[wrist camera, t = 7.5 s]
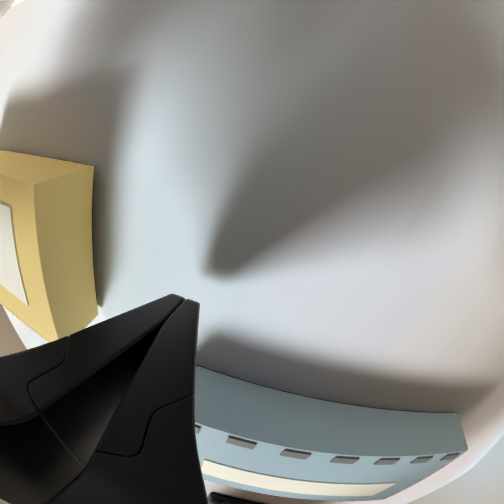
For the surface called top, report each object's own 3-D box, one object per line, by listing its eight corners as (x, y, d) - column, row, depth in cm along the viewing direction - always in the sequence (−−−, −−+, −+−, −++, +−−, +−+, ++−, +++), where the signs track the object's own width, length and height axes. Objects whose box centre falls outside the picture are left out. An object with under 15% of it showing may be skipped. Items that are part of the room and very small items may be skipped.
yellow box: (98, 314, 10) (61, 352, 8) (2, 256, 10) (-29, 276, 8) (93, 166, 7) (31, 185, 5) (-7, 149, 8) (-46, 161, 5)
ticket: (382, 470, 12) (383, 500, 10) (177, 433, 13) (163, 466, 11) (457, 413, 9) (468, 451, 7) (184, 360, 10) (158, 410, 8)
